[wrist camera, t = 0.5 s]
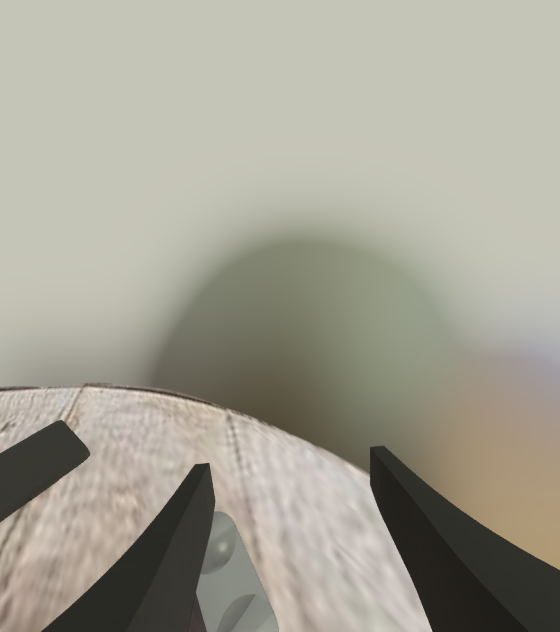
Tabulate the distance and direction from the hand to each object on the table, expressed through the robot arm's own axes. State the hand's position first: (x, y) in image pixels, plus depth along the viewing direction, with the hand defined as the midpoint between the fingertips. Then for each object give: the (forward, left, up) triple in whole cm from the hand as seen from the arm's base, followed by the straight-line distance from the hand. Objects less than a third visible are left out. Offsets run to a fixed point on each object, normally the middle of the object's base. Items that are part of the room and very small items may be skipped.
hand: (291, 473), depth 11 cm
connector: (+1, +5, -19) cm, 20 cm away
